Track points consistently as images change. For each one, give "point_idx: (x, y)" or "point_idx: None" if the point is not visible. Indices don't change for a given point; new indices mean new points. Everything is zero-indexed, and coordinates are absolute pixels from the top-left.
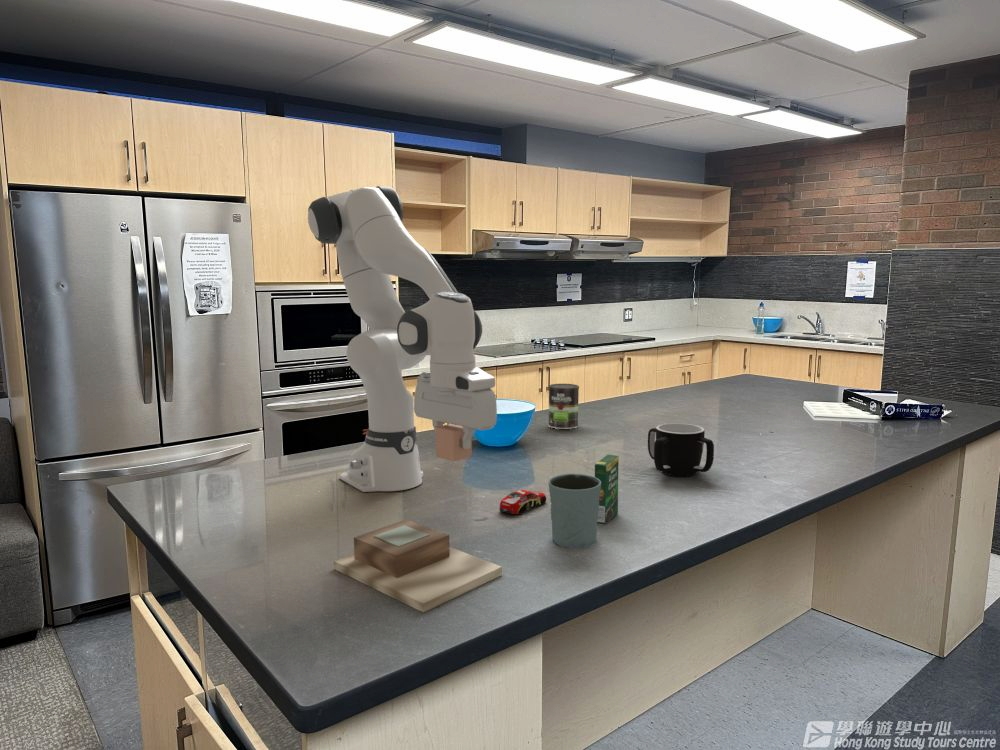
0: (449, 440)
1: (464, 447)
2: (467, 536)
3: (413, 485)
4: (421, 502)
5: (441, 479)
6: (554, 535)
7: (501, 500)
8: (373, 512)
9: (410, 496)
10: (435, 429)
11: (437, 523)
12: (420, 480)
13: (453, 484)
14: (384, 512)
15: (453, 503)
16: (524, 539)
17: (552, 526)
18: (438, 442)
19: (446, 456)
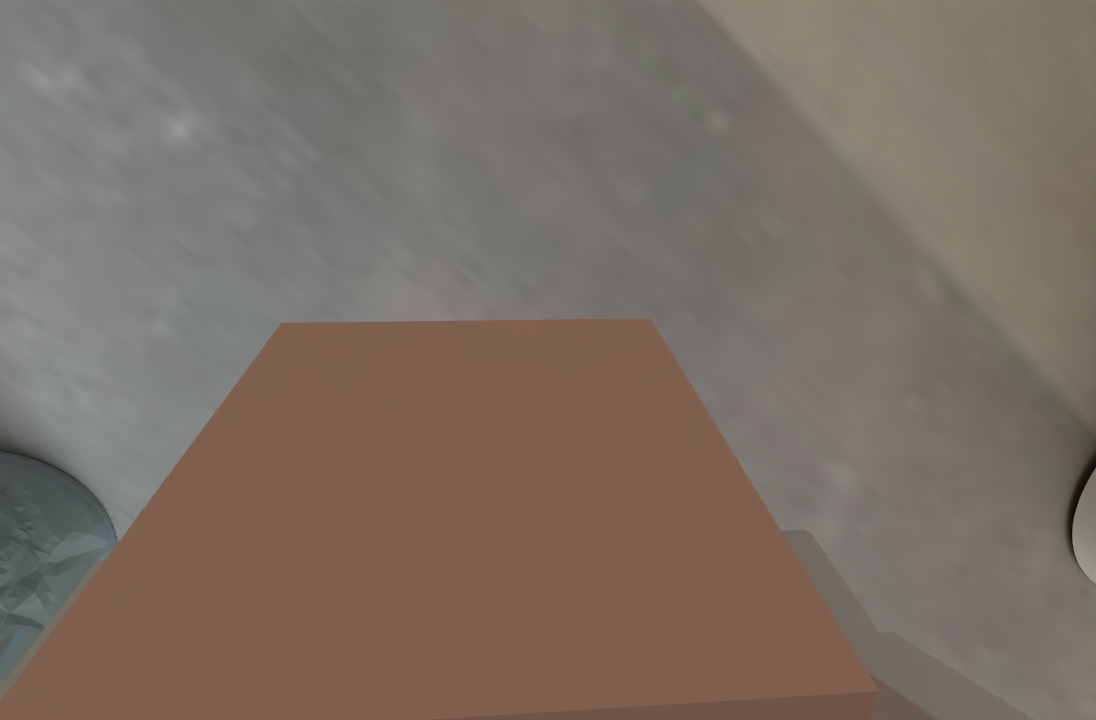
0: (274, 502)
1: (97, 564)
2: (397, 238)
3: (1087, 508)
4: (925, 404)
5: (1020, 641)
6: (6, 476)
7: None
8: (1075, 137)
9: (1026, 423)
10: (972, 705)
11: (659, 261)
12: (1090, 565)
13: (933, 634)
14: (1017, 180)
15: (778, 490)
16: (163, 397)
17: (4, 507)
18: (641, 433)
19: (429, 340)
